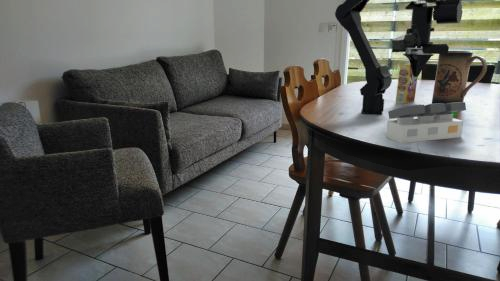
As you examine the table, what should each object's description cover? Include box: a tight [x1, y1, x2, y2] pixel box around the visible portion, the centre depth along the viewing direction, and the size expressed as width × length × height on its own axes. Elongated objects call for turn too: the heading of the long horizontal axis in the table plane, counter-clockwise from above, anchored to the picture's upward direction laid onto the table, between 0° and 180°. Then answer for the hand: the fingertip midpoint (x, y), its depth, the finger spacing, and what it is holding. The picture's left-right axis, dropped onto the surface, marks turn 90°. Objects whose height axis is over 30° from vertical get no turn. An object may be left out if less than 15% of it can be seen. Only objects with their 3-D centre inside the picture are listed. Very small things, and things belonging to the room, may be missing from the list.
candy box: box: [395, 62, 418, 105], centre depth 144 cm, size 9×4×15 cm, turn 134°
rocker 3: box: [431, 101, 467, 116], centre depth 94 cm, size 8×4×2 cm, turn 15°
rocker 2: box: [412, 102, 446, 118], centre depth 93 cm, size 8×4×2 cm, turn 14°
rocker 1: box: [388, 103, 425, 120], centre depth 91 cm, size 8×4×2 cm, turn 14°
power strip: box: [385, 113, 464, 144], centre depth 94 cm, size 6×18×6 cm, turn 105°
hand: (415, 76), depth 115 cm, fingers closed
